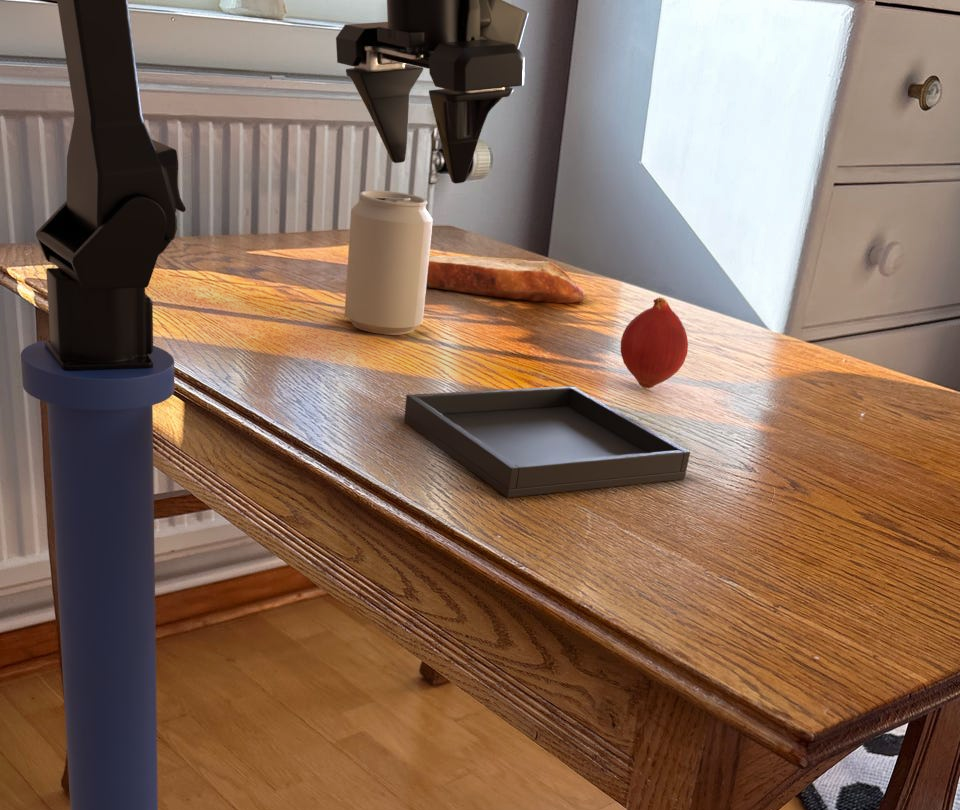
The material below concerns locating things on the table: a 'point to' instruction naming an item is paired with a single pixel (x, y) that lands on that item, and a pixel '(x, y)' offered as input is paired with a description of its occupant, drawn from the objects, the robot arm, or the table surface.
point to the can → (388, 262)
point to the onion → (654, 344)
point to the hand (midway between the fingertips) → (427, 172)
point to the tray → (544, 440)
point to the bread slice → (503, 278)
